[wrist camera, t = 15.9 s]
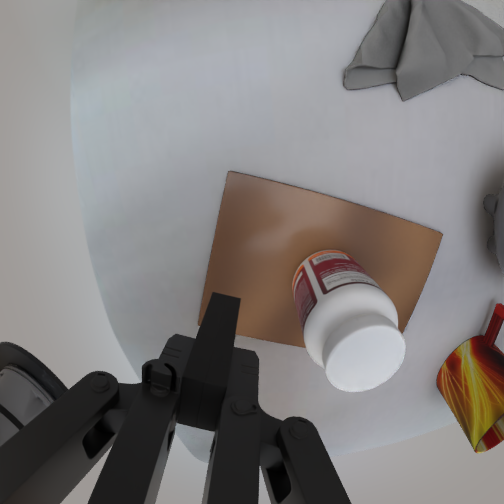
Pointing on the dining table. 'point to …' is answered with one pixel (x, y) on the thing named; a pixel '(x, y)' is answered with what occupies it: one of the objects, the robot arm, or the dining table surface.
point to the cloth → (428, 47)
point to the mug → (477, 386)
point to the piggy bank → (496, 225)
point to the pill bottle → (347, 321)
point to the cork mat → (306, 252)
